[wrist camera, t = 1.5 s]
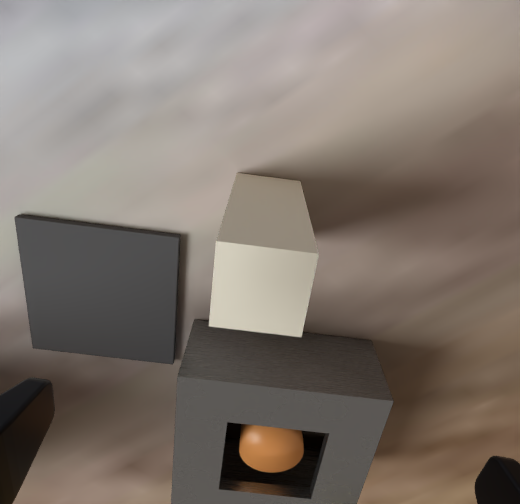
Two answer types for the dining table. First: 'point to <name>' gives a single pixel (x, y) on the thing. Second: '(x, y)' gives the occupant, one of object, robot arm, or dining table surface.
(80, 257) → the mat
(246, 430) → the orange rounded piece
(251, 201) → the cream rectangular prism
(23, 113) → the dining table surface
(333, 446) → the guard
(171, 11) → the dining table surface
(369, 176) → the dining table surface
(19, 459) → the robot arm
